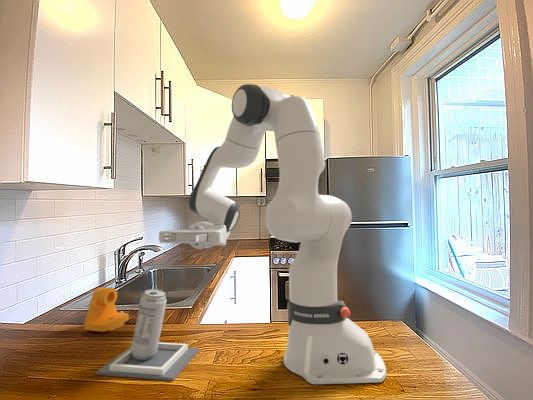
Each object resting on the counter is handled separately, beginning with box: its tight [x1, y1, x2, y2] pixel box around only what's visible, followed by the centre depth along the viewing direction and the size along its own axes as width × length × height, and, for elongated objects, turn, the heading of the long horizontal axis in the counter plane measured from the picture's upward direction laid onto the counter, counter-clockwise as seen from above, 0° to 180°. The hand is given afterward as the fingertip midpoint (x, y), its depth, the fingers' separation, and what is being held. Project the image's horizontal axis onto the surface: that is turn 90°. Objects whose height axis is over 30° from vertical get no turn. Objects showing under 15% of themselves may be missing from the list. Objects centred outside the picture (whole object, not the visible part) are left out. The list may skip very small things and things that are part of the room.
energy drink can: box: [130, 288, 168, 360], centre depth 73 cm, size 6×6×15 cm
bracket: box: [83, 286, 130, 333], centre depth 95 cm, size 11×7×12 cm, turn 164°
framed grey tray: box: [95, 341, 200, 382], centre depth 71 cm, size 18×14×2 cm
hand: (178, 238), depth 84 cm, fingers open, 8 cm apart
